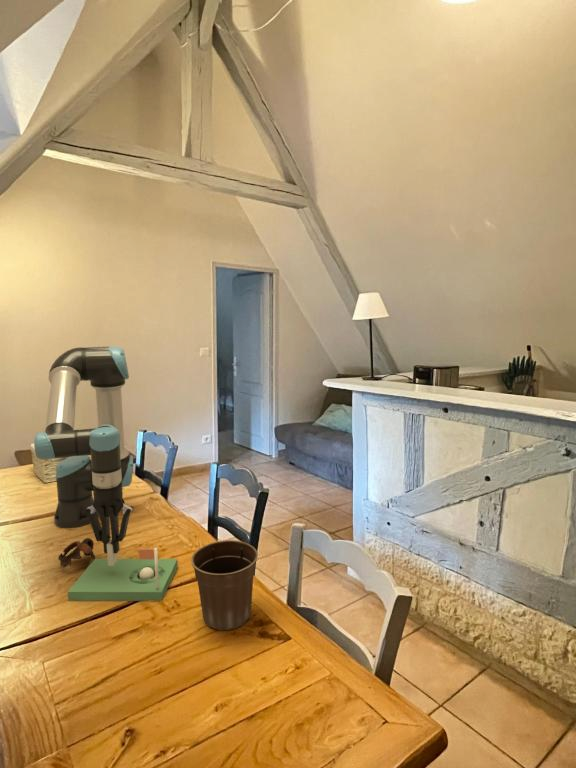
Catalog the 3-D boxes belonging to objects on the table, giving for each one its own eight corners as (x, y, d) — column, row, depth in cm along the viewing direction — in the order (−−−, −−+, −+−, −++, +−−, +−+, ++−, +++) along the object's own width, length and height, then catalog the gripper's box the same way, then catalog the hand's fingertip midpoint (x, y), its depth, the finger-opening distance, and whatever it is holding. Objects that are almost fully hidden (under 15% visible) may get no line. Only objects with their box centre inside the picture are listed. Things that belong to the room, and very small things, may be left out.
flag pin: (142, 596, 124) (139, 547, 122) (159, 596, 124) (157, 547, 122) (141, 598, 123) (138, 549, 121) (159, 598, 123) (156, 549, 121)
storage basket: (31, 472, 226) (28, 442, 223) (66, 465, 236) (64, 437, 234) (42, 485, 207) (39, 453, 205) (80, 477, 218) (78, 447, 215)
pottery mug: (91, 574, 136) (74, 555, 133) (66, 585, 138) (48, 566, 135) (107, 545, 147) (92, 527, 144) (84, 555, 149) (68, 537, 146)
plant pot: (204, 646, 105) (202, 580, 103) (185, 607, 119) (183, 549, 117) (269, 624, 113) (268, 562, 110) (244, 590, 127) (243, 535, 125)
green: (68, 600, 122) (67, 591, 122) (95, 566, 139) (94, 558, 139) (161, 600, 122) (161, 592, 122) (177, 566, 139) (177, 558, 139)
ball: (139, 584, 131) (142, 570, 134) (153, 584, 131) (156, 570, 134) (136, 579, 128) (139, 564, 131) (150, 578, 128) (153, 564, 131)
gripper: (77, 489, 123) (83, 570, 127) (126, 489, 123) (130, 570, 127) (89, 478, 130) (95, 555, 134) (135, 479, 130) (139, 556, 134)
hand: (112, 563), depth 131 cm, fingers closed
